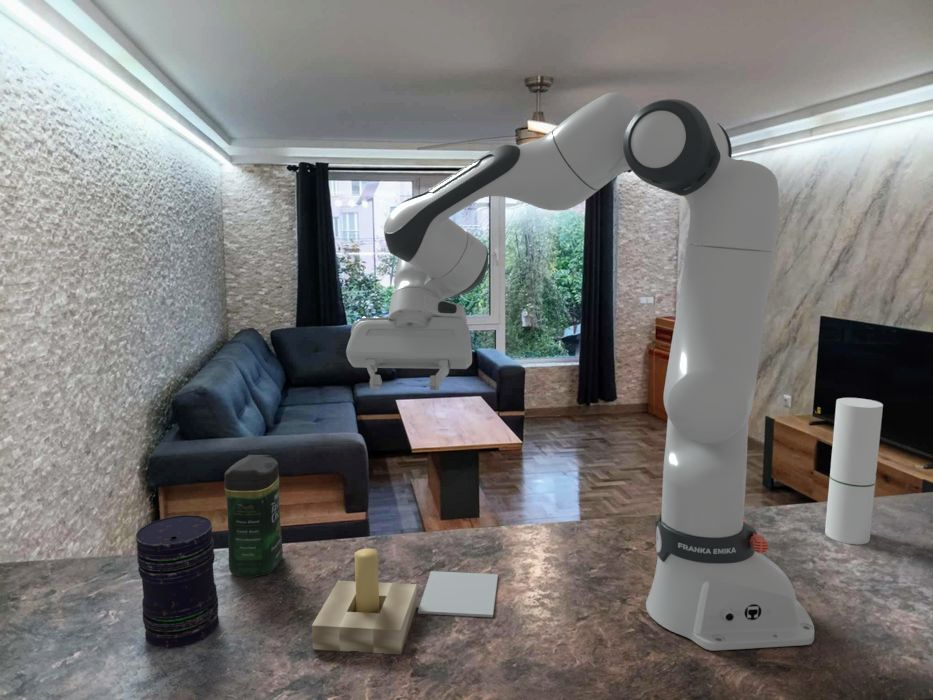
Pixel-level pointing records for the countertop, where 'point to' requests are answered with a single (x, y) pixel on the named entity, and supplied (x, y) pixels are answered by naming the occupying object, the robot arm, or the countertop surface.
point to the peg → (367, 581)
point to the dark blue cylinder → (177, 581)
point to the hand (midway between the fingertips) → (404, 387)
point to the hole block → (365, 620)
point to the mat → (459, 594)
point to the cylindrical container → (853, 470)
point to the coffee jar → (253, 516)
